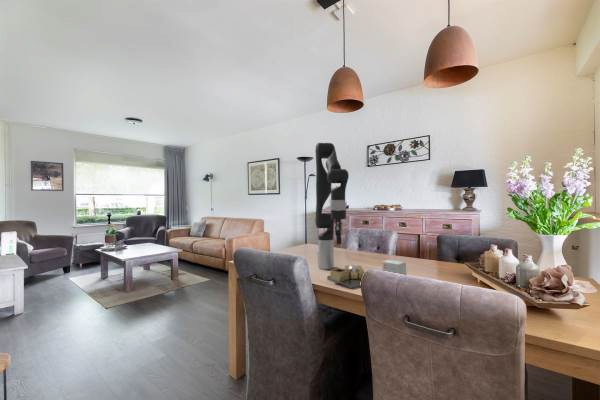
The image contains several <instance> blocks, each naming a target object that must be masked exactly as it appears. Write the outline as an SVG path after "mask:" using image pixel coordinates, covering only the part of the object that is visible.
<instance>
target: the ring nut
mask: <svg viewBox="0 0 600 400" xmlns="http://www.w3.org/2000/svg"><path fill="white" fill-rule="evenodd" d="M349 266H350V265H344V268H340V267H339V268H333V269H329V270H330V271H329V272H330V273H329V274H330V275H329V276H330V277H331V279H334V280H337V281H343V280H347V279H349V278H351V279H358V278H359V279H360V278H362V276H363V274H364V275H365V270H364V269H363V267H362V266H361V265H357V266H358V267H359V268H358V269H356V271H351V269H350V268H349Z"/></svg>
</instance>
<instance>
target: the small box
mask: <svg viewBox="0 0 600 400" xmlns="http://www.w3.org/2000/svg"><path fill="white" fill-rule="evenodd" d="M383 271H388V272H393V273H399V274H404V275H406V276H407V262H406V261H402V260H401V261H400V260H397V259H396V260H395V259H386V260H383V261H382V272H383Z"/></svg>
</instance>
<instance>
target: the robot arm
mask: <svg viewBox="0 0 600 400" xmlns="http://www.w3.org/2000/svg"><path fill="white" fill-rule="evenodd" d="M324 159H325V167H324V164H323V160H324ZM315 168H316V172H315V173H316V176H315V192H316V194H315V196H316V203H315V207H316V208H315V221H314V222H315V227H316V228H317V229H326V231H324V232H321V233H320V234H318V237H317V239H318V251H317V266H318V268H319V269H321V270H334V269H335V252H334V251H335V249H334V248H335V247H334V245H335V243H334V242H335V241H334V240H335V238H334V236H335V237H336V245H342V236H343V230H344V229H343V226H344V222H342V220H345V219H347V203H346V190H347V189H346V188H347V184H348V181H349V177H350V176H349V172H348V170H347V169H345V168H342V167H341V164H340V162H339V161H338V157H337V152H336V148H335V145H334V144H333V143H331V142H318V143H316V145H315ZM325 168H326V169H325ZM326 170H327V171H326ZM332 184H340V185H339V186H338V187H335V188H332ZM329 197H330V212H323V208H324V205H325V203H326V202H327V200H328V198H329ZM334 233H335V235H334Z"/></svg>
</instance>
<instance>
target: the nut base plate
mask: <svg viewBox="0 0 600 400" xmlns="http://www.w3.org/2000/svg"><path fill="white" fill-rule="evenodd" d="M348 266H349V268H350V269H351V271H356V269H358V268H359V267H358V266H359V265H348ZM326 278H327V280H328V281H330V282H334V283H336V284H339V285H341V286H343V287H345V288H348V289H351V290H352V289H355V288H361V286H360V282H361V278H360V279H359V278H358V279H351V278H349V279H347V280H343V281H337V280H334V279H331V277H330V275H328V276H327V277H326Z"/></svg>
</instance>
